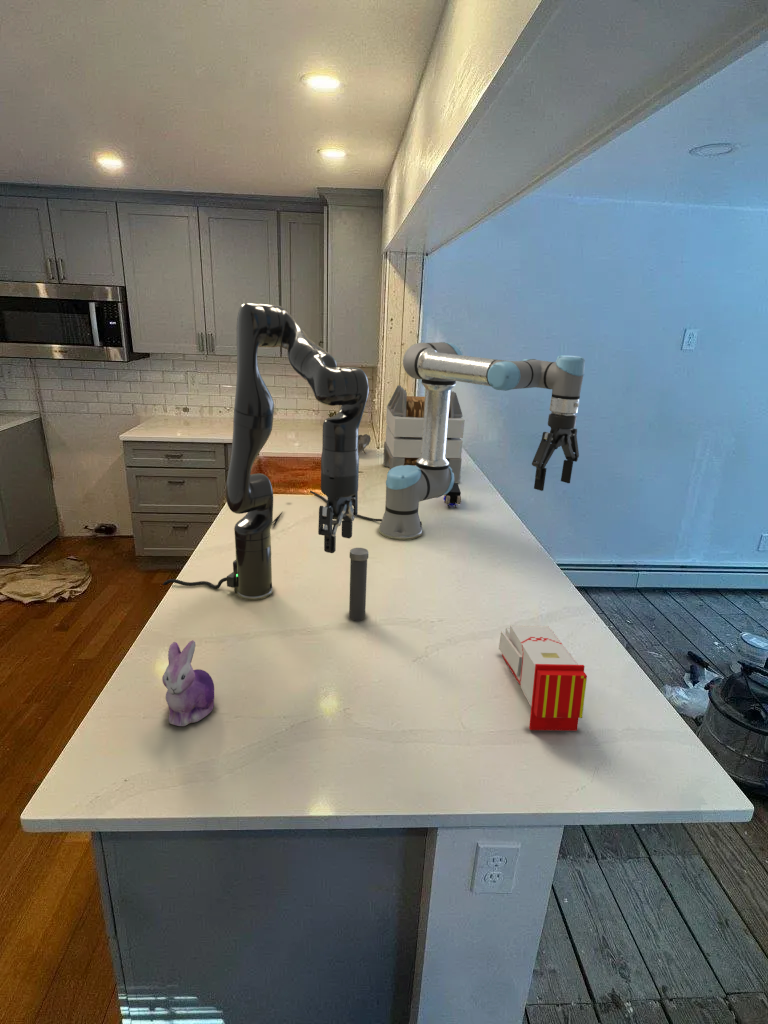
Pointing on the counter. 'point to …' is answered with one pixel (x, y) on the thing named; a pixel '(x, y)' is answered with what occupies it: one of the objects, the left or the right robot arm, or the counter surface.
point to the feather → (276, 520)
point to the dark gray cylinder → (357, 590)
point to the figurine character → (453, 496)
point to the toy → (545, 676)
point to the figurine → (187, 687)
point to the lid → (358, 554)
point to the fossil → (363, 442)
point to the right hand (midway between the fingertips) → (552, 485)
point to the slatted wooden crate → (419, 431)
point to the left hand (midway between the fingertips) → (338, 544)
